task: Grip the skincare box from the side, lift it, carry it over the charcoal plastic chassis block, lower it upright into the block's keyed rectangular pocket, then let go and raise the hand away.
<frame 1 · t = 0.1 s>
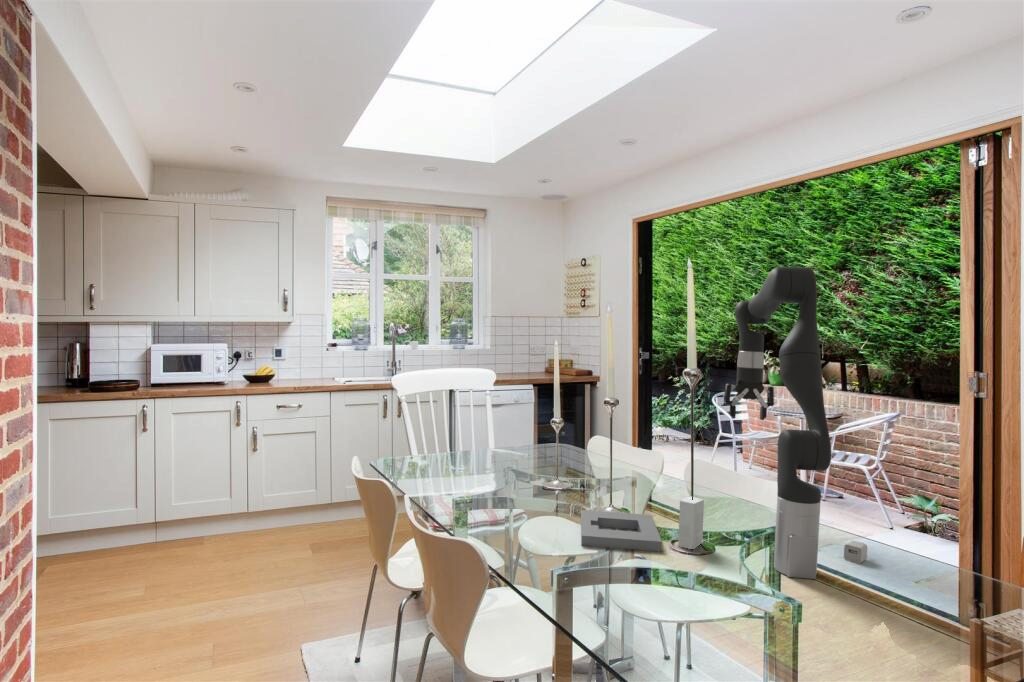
hand: (747, 418, 189), 29 cm above the table, tool pointing down, fingers open, 8 cm apart
usb wall charger: (856, 559, 155), on the table
skincare box: (689, 546, 159), on the table
chassis block: (618, 533, 166), on the table
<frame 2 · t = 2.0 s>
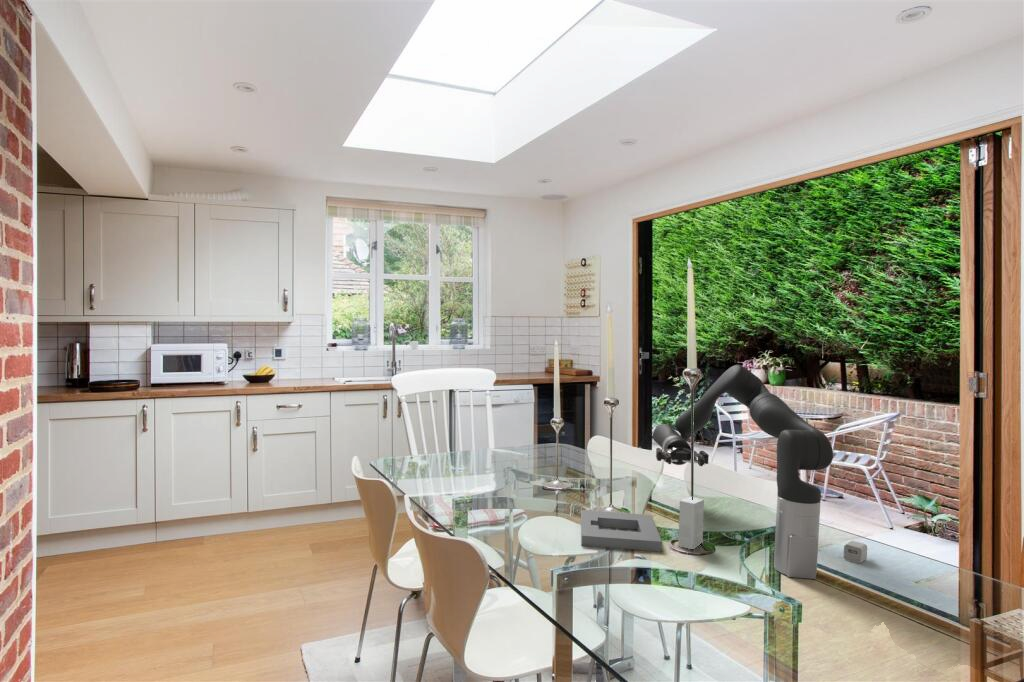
hand: (685, 461, 170), 19 cm above the table, tool horizontal, fingers open, 8 cm apart
nothing on the table moved.
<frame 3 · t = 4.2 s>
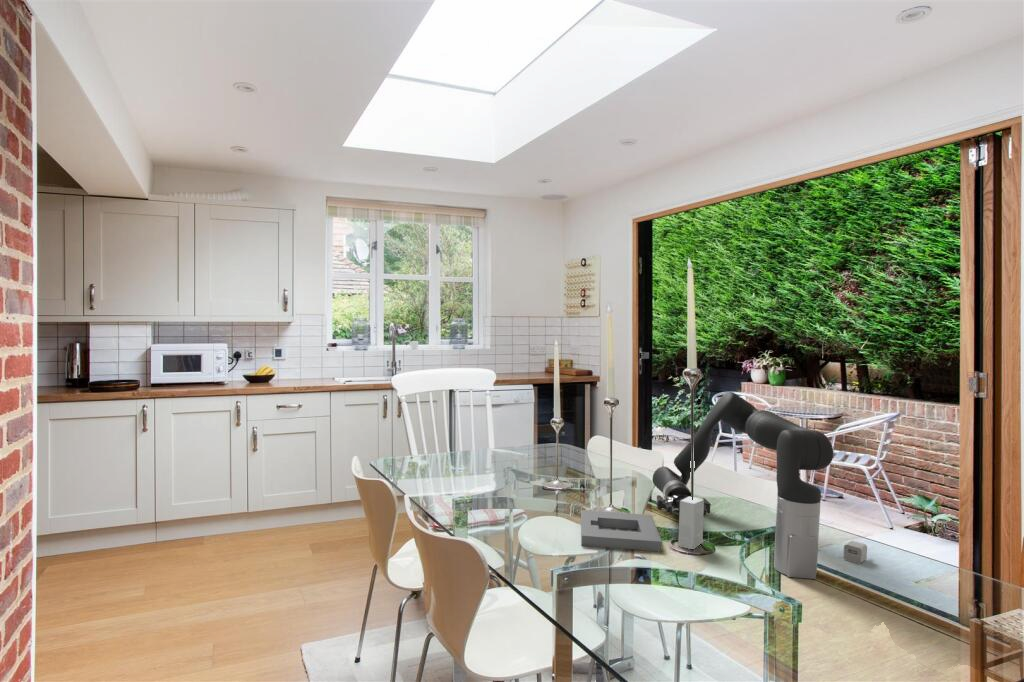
hand: (687, 511, 165), 7 cm above the table, tool horizontal, fingers open, 8 cm apart
nothing on the table moved.
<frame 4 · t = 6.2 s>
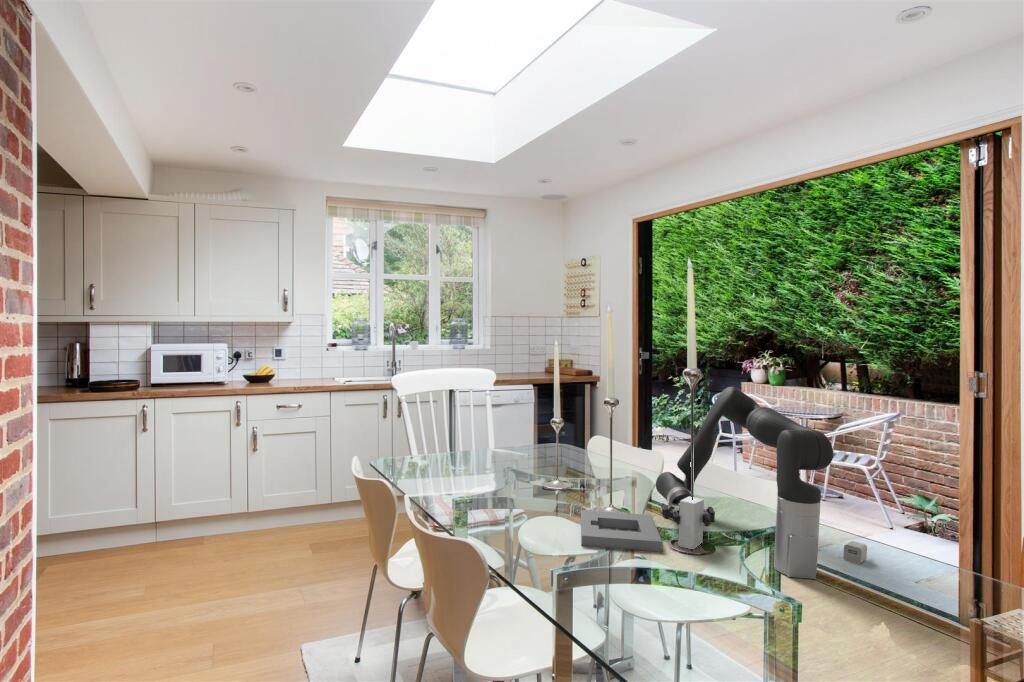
hand: (693, 521, 157), 7 cm above the table, tool horizontal, fingers closed on skincare box, 6 cm apart
skincare box: (689, 546, 159), on the table, touching gripper
everything else where it was.
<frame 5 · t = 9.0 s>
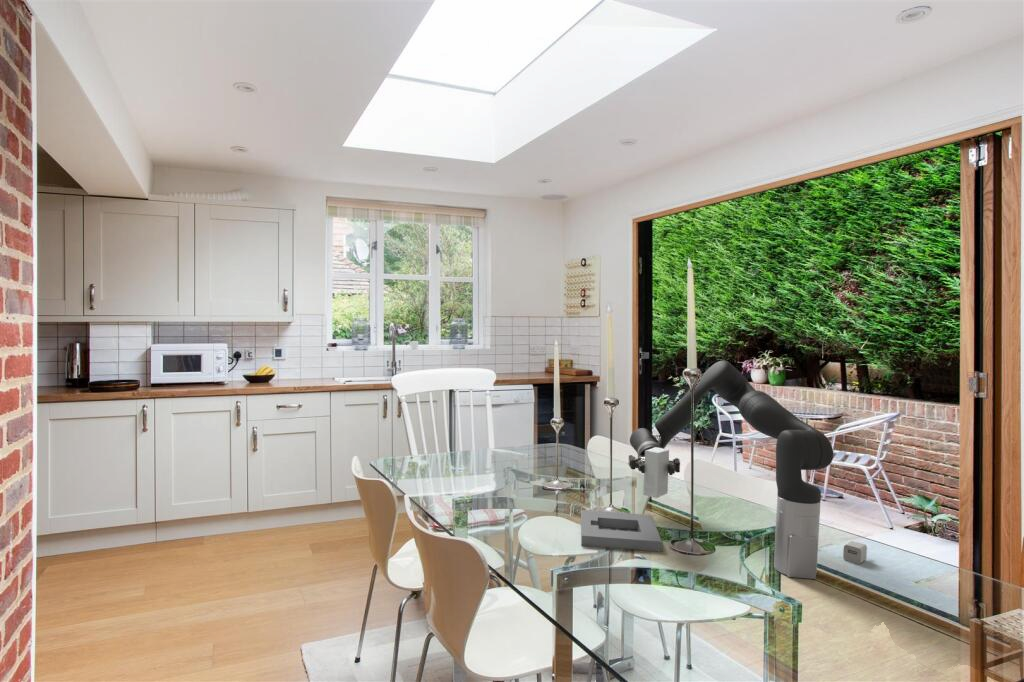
hand: (657, 470, 161), 19 cm above the table, tool horizontal, fingers closed on skincare box, 6 cm apart
skincare box: (655, 495, 163), point 12 cm above the table, touching gripper
everything else where it was.
when the fingers open (8 cm above the table, at t = 12.0 s): skincare box stays where it is, resting in chassis block.
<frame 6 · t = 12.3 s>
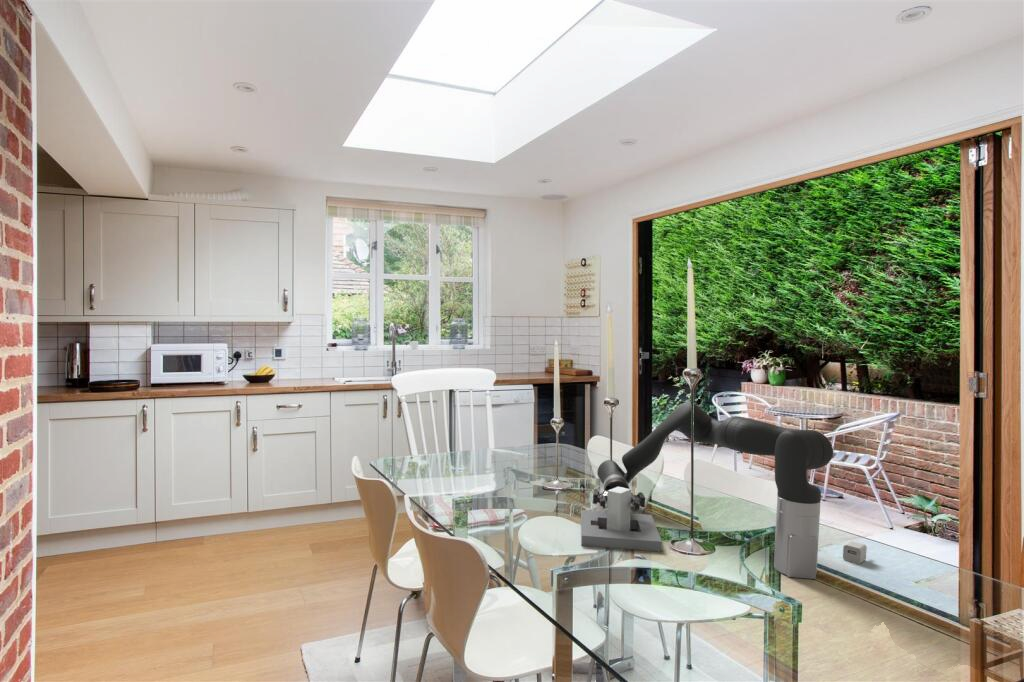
hand: (620, 505, 164), 8 cm above the table, tool horizontal, fingers open, 8 cm apart
skincare box: (617, 534, 166), resting in chassis block
everything else where it was.
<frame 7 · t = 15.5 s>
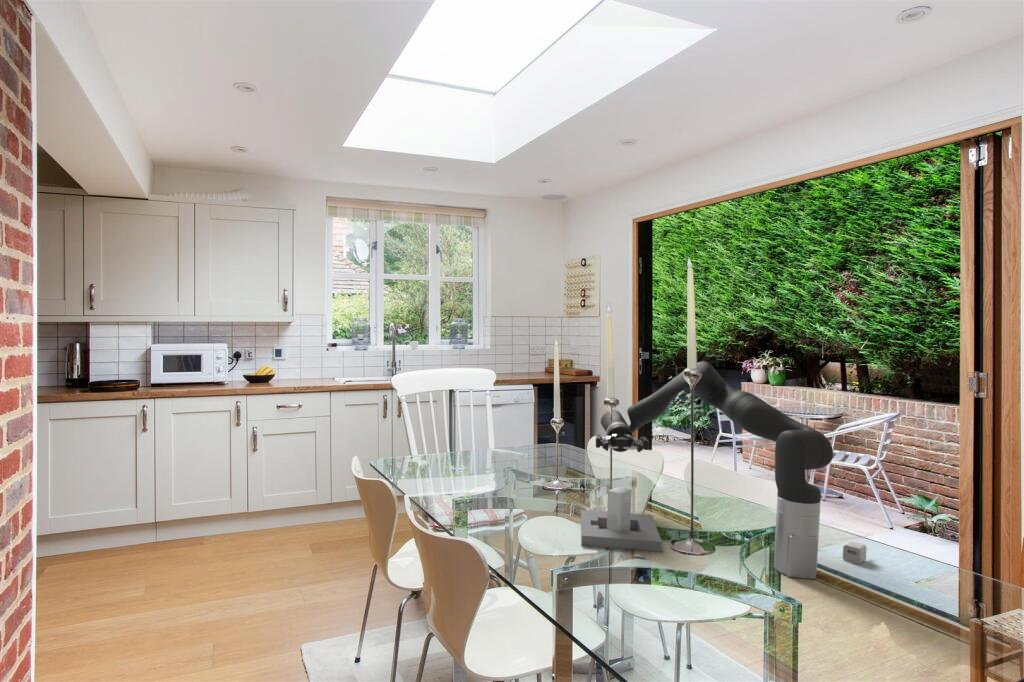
hand: (623, 447, 163), 24 cm above the table, tool horizontal, fingers open, 8 cm apart
nothing on the table moved.
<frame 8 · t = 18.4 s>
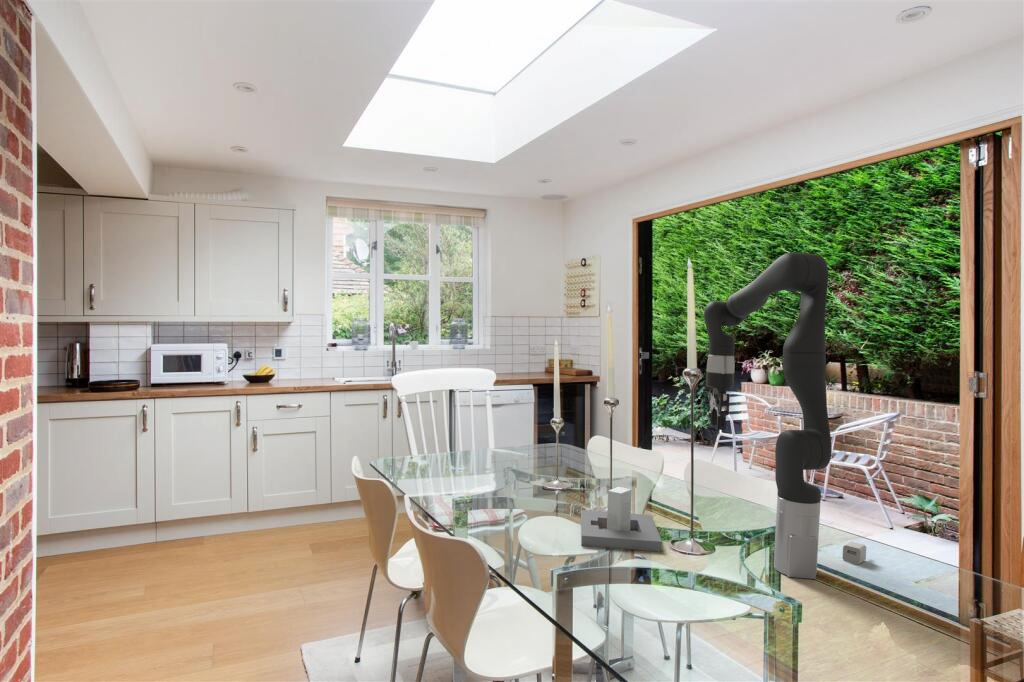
hand: (717, 427, 177), 28 cm above the table, tool pointing down, fingers open, 8 cm apart
nothing on the table moved.
at the end: skincare box 0.1 cm off-centre on the chassis block, point 0.0 cm above the chassis block's base; skincare box tilted 0°; the gripper is holding nothing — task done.
